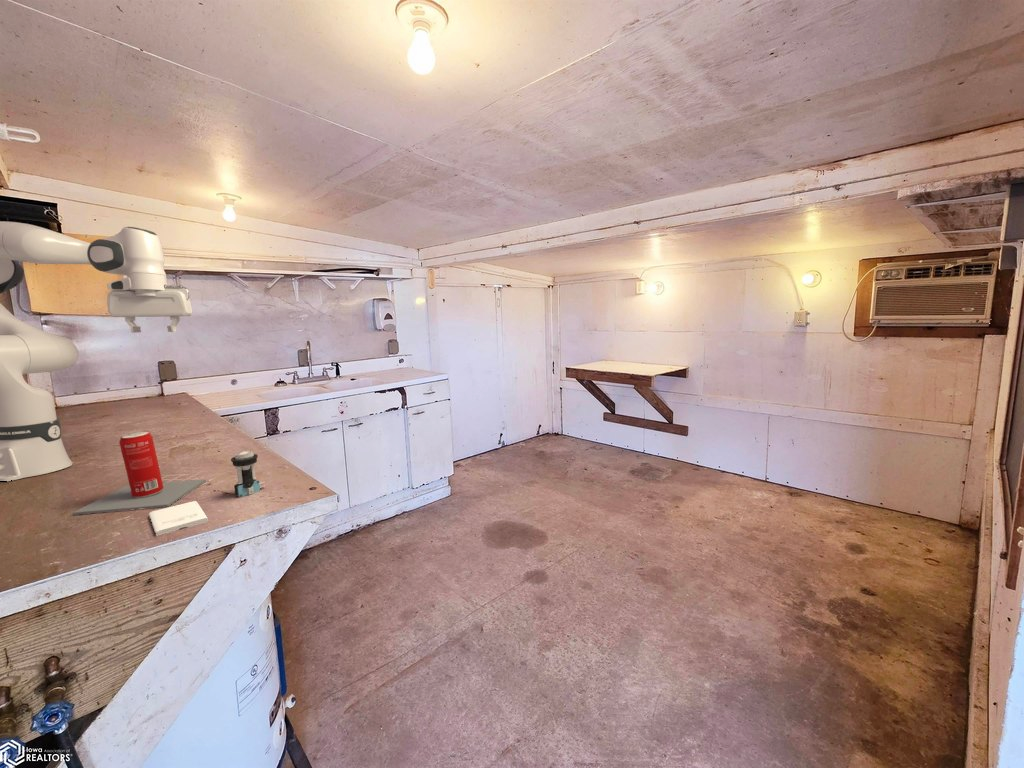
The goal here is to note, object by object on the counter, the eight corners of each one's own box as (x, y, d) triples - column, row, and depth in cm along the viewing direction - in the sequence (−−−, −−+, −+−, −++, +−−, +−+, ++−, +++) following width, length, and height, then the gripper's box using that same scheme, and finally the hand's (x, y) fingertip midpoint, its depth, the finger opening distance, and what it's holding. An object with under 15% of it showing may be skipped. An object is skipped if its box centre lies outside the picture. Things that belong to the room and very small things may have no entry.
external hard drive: (197, 507, 93) (208, 524, 85) (149, 519, 88) (156, 538, 79) (196, 500, 93) (207, 516, 85) (148, 512, 87) (155, 530, 79)
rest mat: (73, 515, 89) (72, 512, 89) (126, 487, 104) (126, 485, 104) (168, 507, 92) (167, 504, 92) (205, 481, 108) (205, 479, 108)
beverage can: (170, 489, 101) (162, 429, 99) (144, 500, 95) (135, 436, 93) (148, 488, 102) (139, 429, 100) (121, 499, 95) (111, 436, 93)
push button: (259, 485, 104) (255, 447, 103) (271, 489, 101) (267, 450, 100) (230, 495, 99) (226, 454, 97) (242, 499, 96) (237, 457, 94)
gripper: (193, 286, 127) (199, 331, 129) (116, 286, 123) (123, 332, 125) (181, 283, 121) (187, 331, 123) (100, 283, 117) (107, 332, 119)
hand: (154, 332), depth 124 cm, fingers open, 8 cm apart
